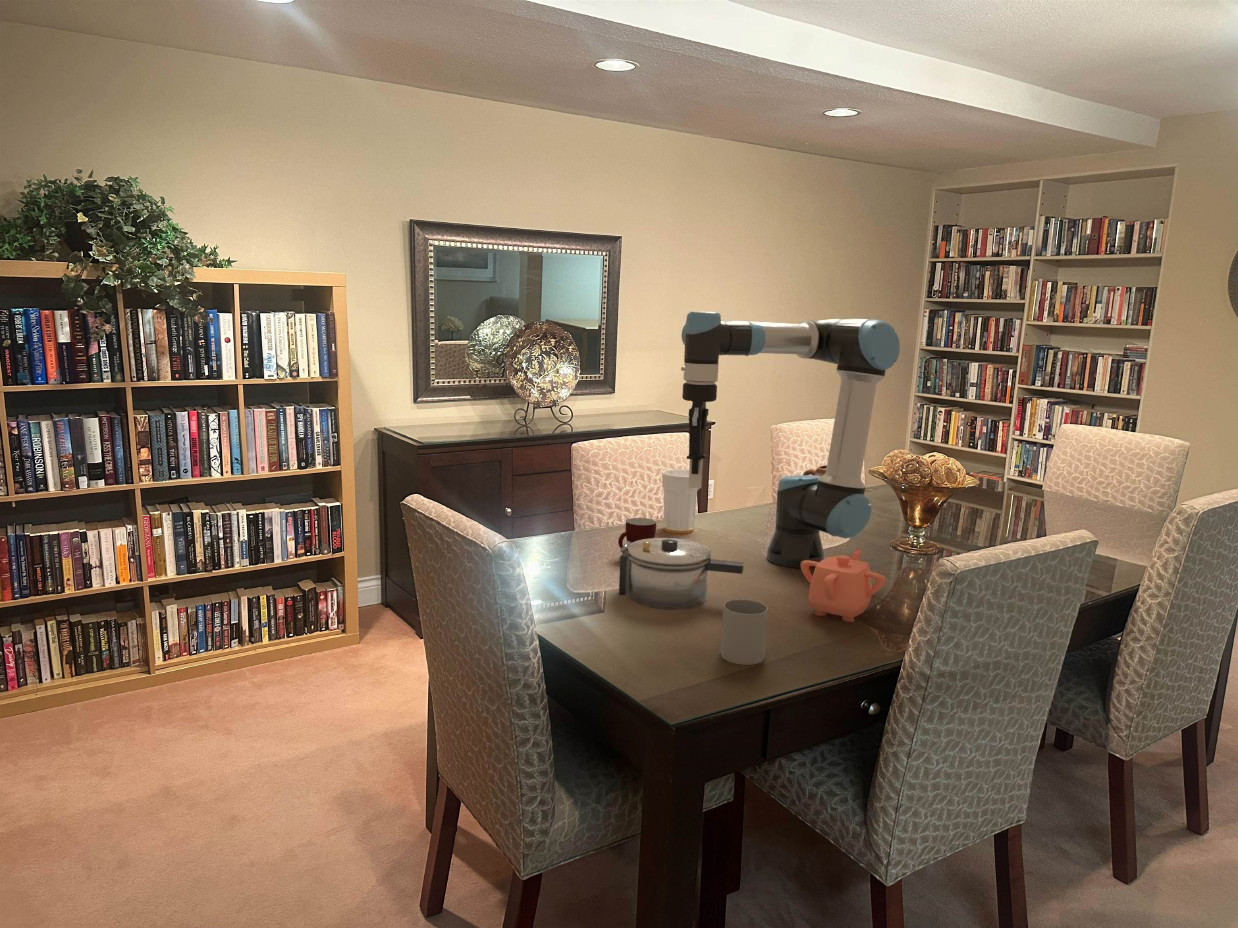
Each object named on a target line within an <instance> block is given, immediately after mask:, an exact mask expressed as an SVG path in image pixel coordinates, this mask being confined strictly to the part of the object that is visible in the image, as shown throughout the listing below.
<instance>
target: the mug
mask: <svg viewBox="0 0 1238 928" xmlns="http://www.w3.org/2000/svg"><path fill="white" fill-rule="evenodd" d="M656 532H657V521H656V520H654V519H651V518H645V517H632V518H631V517H630V518H628V519H625V532H622V533H621V534H620V535H619V537H618V544H617V545H618V547H619V548H620V549H621V548H622V547H623V546H624V545H623V543H624V542H623V541H624V539H625V538H626V542H627V541H630V542H631V543H632V542H635V541H638V540H643V539H650V538H656ZM626 551H628V549H627V550H626Z"/></svg>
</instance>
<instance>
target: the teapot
mask: <svg viewBox="0 0 1238 928" xmlns="http://www.w3.org/2000/svg"><path fill="white" fill-rule="evenodd" d="M861 554H862V549H860V548H858V549H856V550H853V553H852V555H851V557H850V556H848V555H846V554H845V555H843V554H840V555H838V554H837V555H836V556H834V555H832V556H831V555H830V556H828V557H826V558H825V557H824V559H823V560H822V561H820V562H815V561H809V560H805V561H802V562H801V565H800V566H801V568H800V569H801V572H802V574H803V576H804V577H805V579H806V580H807V581H808V582H809V591H808V605H809V608H810V609H811V610H814V613H813V614H814V615H816V616H819V617H825V616H827V614H831V615H835V616H841V617H842V618H841V620H842V621H843V622H846V623H854V622H855V617H858V616H859V615H861V614H862V613H863V614H864V612H865V611H866V609H867V608H868V606H869V605H870V602H871V600H872V596H873V595H875V594H877V593H878V592H879V591H880V590H881V589H882V588H883V587H884V586H885V584H886V582H887V581H886V577H885V576H884V575H883V574H880V573H878V572H872V571H871V569H870V568H871V567H870V563H869V562H867V561H862V560H860V556H861ZM809 566H815V567H814V572H813V574H812V572H811V570H810V568H809ZM872 578H873V579H875V584H874V585H872V584H873V582H872Z"/></svg>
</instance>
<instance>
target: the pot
mask: <svg viewBox="0 0 1238 928" xmlns="http://www.w3.org/2000/svg"><path fill="white" fill-rule="evenodd" d="M711 556H712V555H711ZM711 556H710V558H709V559H708V560H707V561H705V562H702V563H698V564H693V565H681V566H672V565H659V564H652V563H647V562H643V561H640V560H637V559H635V558H633V557H631V556H630V555H629V554H628V551H625V552H624V553H622V552H621V554H620V555H619V578H618V579H619V580H618V581H619V582H618V585H619V586H618V595H621V596H626V594H627V593H628V598H629V599H630V600H631V601H632V602H634V603H636V604H638V605H640V606H644V607H648V608H652V609H659V610H674V611H675V610H687V609H688V610H689V609H693V608H696V607H698V606H701V605H703V604H704V603H705V602H706V601H707V592H708V591H707V588H708V587H707V585H708V573H709V571H710V572H720V573H730V574H737V575H738V574H740V575H742V574H743V572H744V565H745V563H744V561H735V560H725V559H713V558H712V557H711Z"/></svg>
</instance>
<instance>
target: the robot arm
mask: <svg viewBox="0 0 1238 928" xmlns="http://www.w3.org/2000/svg"><path fill="white" fill-rule="evenodd" d="M895 329H896V328H895V327H893V325H892V324H890V323H888V322H887V321H884V320H879V319H875V318H874V319H872V318H868V319H865V318H844V317H843V318H830V319H829V318H828V319H819V320H801V321H800V322H799V323H786V322H785V323H784V322H783V323H781V322H761V321H750V320H748V321H747V320H746V321H743V320H726V319H725V320H723V319H722V318H721V313H720V312H717V311H689V312H688V313H687V315H686V321H685V324H684V325H683V327H682V330H681V340H682V343H683V345H684V355H683V357H684V359H683V360H684V361H683V363H684V364H683V366H681V368H680V370H681V371H682V372H683V380H684V381H685V382H684V383H683V384H682V394H681V395H682V396H681V397H682V399H683V400H684V401H687V402H688V401H689V402H692V405H691V407H690V408H689V409H688V424H689V426H688V428H689V429H688V433H689V435H688V440H689V441H688V455H687V456H686V460H689V468H688V470H689V488H699V489H701V488H702V483H703V482H702V481H703V480H702V479H703V464H704V463H703V461H704V459H706V458H707V455H706V454H705V443H706V433H707V432H706V431H707V425H708V423H707V422H708V416H709V408H707V403H711V402H715V401H716V400H717V395H718V386H717V384H716V382H718V380H719V379H718V378H719V361H720V360H719V358H720V356H746V357H748V356H756V355H758V354H774V355H777V354H778V355H782V354H783V355H796V356H797V357H798V358H800V359H805V360H806V359H808V360H809V359H810V360H815V361H820V362H824V363H825V362H827V363H830V364H835V365H837V366H836V372H837V374H838V375H839V377H840V380H841V381H840V386H839V387H840V388H839V392H838V399H837V403H836V410H835V416H834V422H833V426H832V428H833V429H832V433H831V440H830V444H829V451H828V457H827V464H826V465H827V468H826V473H825V474H824V475H823V476H815V475H803V474H799V475H787V476H783V477H781V478H780V479H779V481H778V487H777V490H776V510H775V512H776V513H775V529H774V532H773V535H772V538H771V540H770V542H769V545H768V547H767V551H766V559H767V560H768V561H769V562H771V563H773V564H776V565H779V566H783V567H788V568H797V569H798V568H799V569H801V566H800V565H801V562H802V561H805V560H809V561H815V562H820V561H822V560H823V559H825V551H824V548H823V543H822V540H821V536H820V532H823V533H826V534H828V535H831V536H832V537H837V538H842V539H852V538H854V537H856V536H858V535H859V534H860V533H861V532H862V531H863V530H865V528H866V527H867V525H868V524H869V521H870V518H871V516H872V504H871V503H870V502H871V501H870V500H869V498H868V497H866V495H865V490H866V485H865V483H864V482H863V481H862V479H861V478H862V471H863V465H864V461H865V460H864V459H865V455H866V454H865V453H866V448H867V442H868V438H869V431H870V425H871V420H872V414H873V408H874V401H875V396H876V391H877V385H878V384H879V382H881V381H882V380H883V379H885V377H886V370H888V369H890V368H892V367H893V366H894V365H895V363H896V362H897V361H898V360H899V357H900V356H899V355H900V351H901V344H900V343H901V342H900V337H899V335H898V333H897V332H896V330H895ZM812 568H816V567H815V566H809V569H812Z"/></svg>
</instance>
